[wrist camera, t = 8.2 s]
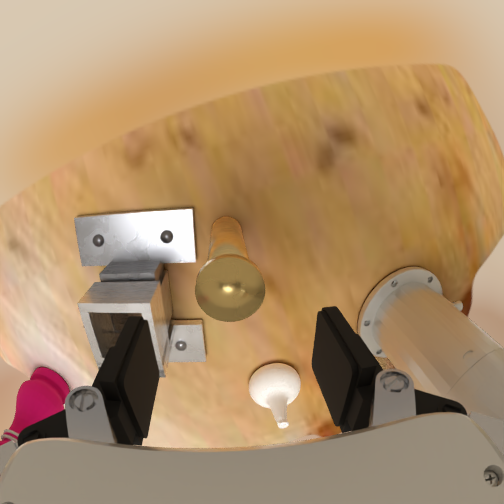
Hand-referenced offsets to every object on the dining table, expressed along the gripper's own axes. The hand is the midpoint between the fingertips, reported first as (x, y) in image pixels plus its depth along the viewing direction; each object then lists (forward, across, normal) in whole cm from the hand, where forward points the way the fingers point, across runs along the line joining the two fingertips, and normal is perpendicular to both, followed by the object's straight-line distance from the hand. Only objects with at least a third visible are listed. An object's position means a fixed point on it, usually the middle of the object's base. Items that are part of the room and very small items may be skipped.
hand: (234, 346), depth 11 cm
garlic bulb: (+18, -5, +19) cm, 27 cm away
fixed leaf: (+18, +9, +3) cm, 20 cm away
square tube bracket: (+18, +9, +9) cm, 21 cm away
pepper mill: (+18, +27, +21) cm, 39 cm away
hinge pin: (+18, 0, 0) cm, 18 cm away
